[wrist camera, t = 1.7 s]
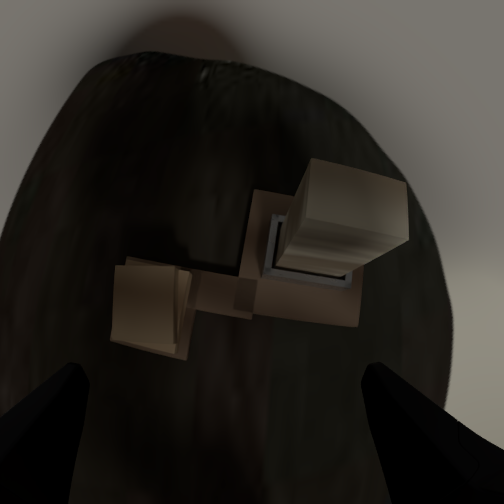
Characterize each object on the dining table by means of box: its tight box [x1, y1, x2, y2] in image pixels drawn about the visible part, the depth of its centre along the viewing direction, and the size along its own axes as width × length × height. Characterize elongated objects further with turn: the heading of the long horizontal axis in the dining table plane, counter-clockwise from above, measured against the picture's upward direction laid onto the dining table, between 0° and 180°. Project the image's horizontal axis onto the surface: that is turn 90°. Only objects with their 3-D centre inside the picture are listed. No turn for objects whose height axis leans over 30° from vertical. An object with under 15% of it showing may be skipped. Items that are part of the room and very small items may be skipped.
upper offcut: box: [112, 265, 179, 344], centre depth 19 cm, size 5×4×2 cm
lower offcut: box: [111, 260, 192, 354], centre depth 20 cm, size 6×5×2 cm
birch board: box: [273, 158, 409, 279], centre depth 18 cm, size 3×5×11 cm, turn 81°
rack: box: [110, 189, 364, 360], centre depth 22 cm, size 14×19×3 cm
